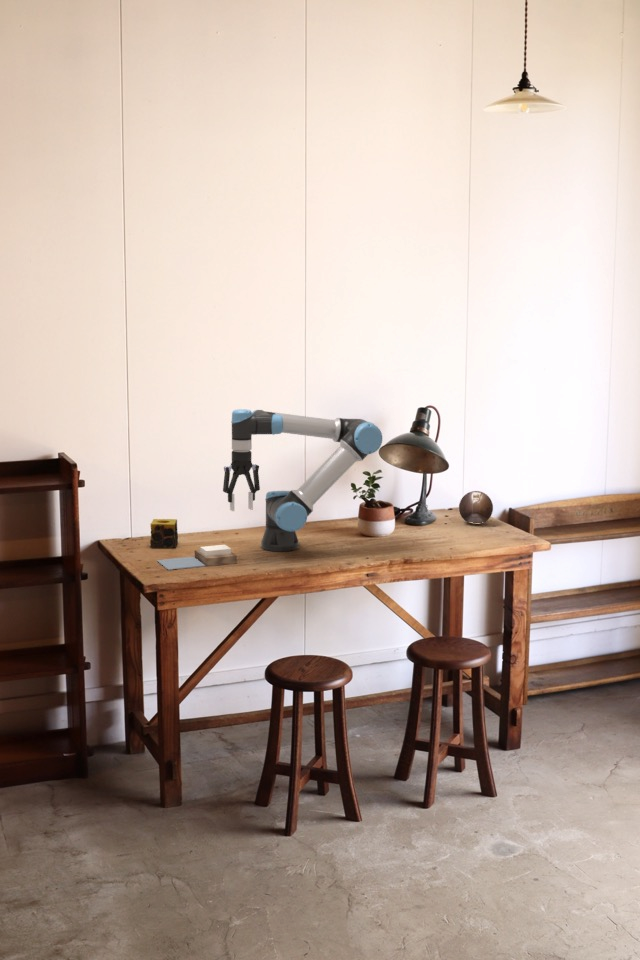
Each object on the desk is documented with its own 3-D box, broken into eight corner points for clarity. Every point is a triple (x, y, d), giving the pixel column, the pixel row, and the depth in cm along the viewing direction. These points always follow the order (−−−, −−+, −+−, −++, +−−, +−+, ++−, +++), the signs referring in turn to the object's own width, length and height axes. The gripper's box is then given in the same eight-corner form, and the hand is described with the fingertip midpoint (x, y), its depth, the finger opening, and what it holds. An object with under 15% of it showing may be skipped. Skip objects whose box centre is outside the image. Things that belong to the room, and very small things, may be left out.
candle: (175, 548, 422) (175, 524, 420) (150, 548, 422) (149, 524, 420) (178, 542, 432) (178, 518, 430) (153, 542, 432) (153, 518, 430)
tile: (224, 549, 410) (224, 544, 409) (231, 553, 403) (231, 548, 403) (200, 551, 405) (200, 546, 405) (206, 556, 399) (206, 551, 399)
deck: (224, 554, 414) (224, 547, 413) (236, 563, 401) (236, 555, 401) (194, 557, 409) (194, 550, 408) (206, 566, 396) (206, 558, 396)
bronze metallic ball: (462, 528, 467) (463, 494, 464) (455, 520, 481) (456, 488, 479) (495, 527, 468) (497, 494, 465) (487, 520, 483) (489, 488, 480)
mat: (193, 557, 408) (193, 556, 408) (205, 566, 396) (205, 565, 396) (157, 561, 402) (157, 560, 402) (168, 570, 390) (168, 569, 390)
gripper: (262, 447, 409) (261, 506, 414) (213, 450, 401) (213, 509, 405) (269, 450, 403) (269, 509, 407) (220, 453, 394) (220, 513, 399)
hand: (241, 509), depth 406 cm, fingers open, 7 cm apart
